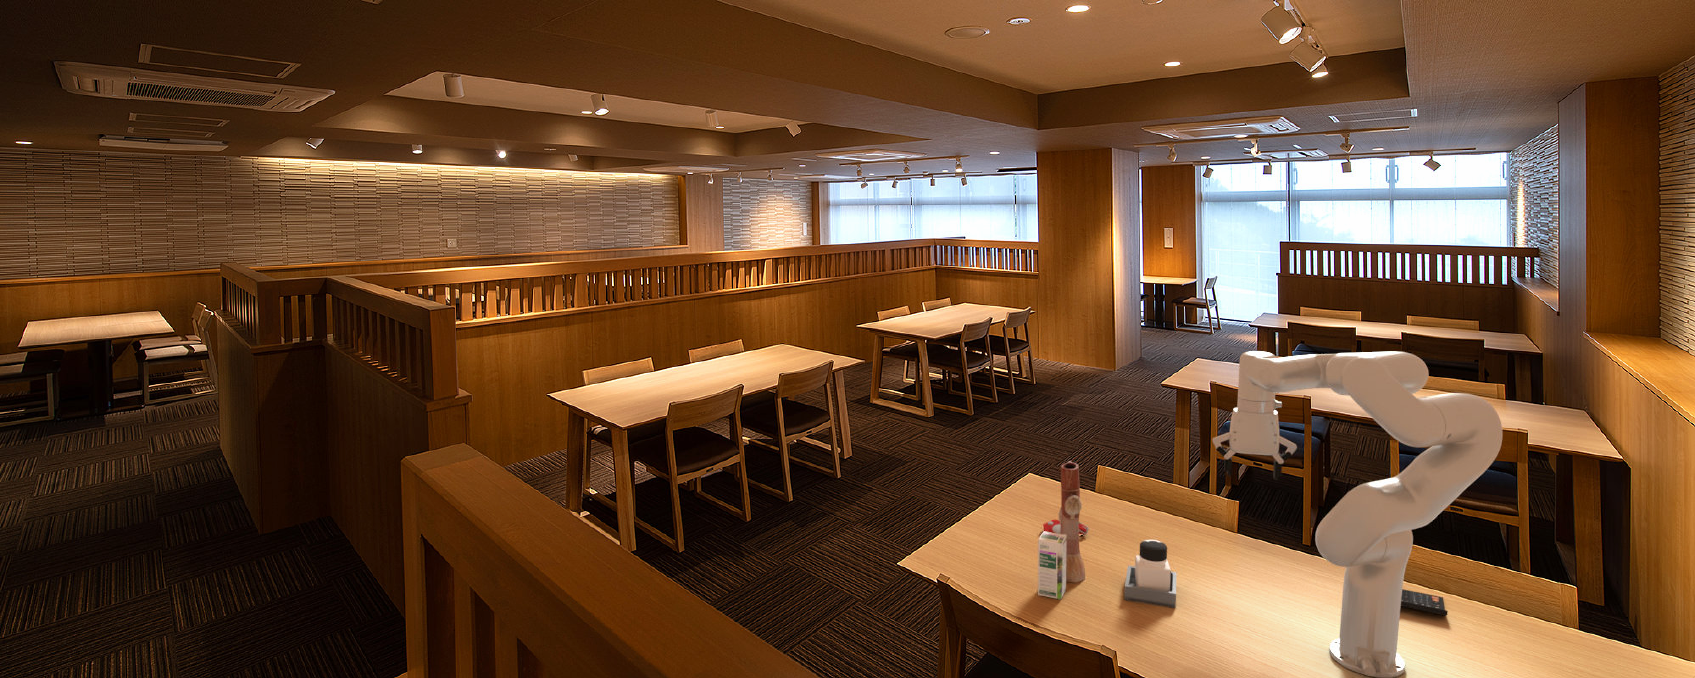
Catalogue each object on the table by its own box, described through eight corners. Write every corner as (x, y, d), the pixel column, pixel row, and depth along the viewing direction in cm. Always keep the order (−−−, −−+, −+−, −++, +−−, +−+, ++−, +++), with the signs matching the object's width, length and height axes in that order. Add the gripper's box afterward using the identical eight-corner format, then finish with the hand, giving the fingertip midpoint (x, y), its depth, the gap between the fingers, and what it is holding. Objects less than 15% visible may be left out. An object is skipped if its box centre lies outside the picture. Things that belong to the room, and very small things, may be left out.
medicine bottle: (1170, 598, 179) (1172, 550, 177) (1138, 596, 181) (1139, 548, 179) (1165, 584, 186) (1167, 537, 184) (1134, 581, 187) (1135, 535, 185)
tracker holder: (1057, 543, 210) (1034, 522, 218) (1057, 555, 212) (1035, 534, 220) (1092, 525, 214) (1069, 506, 222) (1092, 537, 216) (1069, 517, 224)
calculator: (1442, 600, 175) (1443, 588, 175) (1446, 624, 166) (1447, 611, 165) (1392, 590, 181) (1393, 578, 180) (1393, 613, 171) (1394, 600, 171)
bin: (1175, 608, 176) (1176, 593, 176) (1124, 599, 181) (1124, 586, 180) (1176, 585, 186) (1176, 572, 186) (1127, 578, 191) (1128, 565, 190)
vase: (1057, 566, 199) (1058, 455, 194) (1086, 570, 196) (1088, 458, 191) (1052, 585, 189) (1053, 469, 184) (1083, 589, 186) (1084, 472, 181)
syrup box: (1037, 595, 184) (1037, 539, 182) (1043, 584, 189) (1043, 529, 187) (1061, 600, 182) (1061, 543, 179) (1066, 589, 187) (1067, 533, 184)
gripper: (1296, 403, 176) (1292, 474, 179) (1213, 399, 183) (1210, 467, 186) (1301, 412, 169) (1296, 485, 172) (1214, 406, 176) (1211, 477, 179)
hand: (1252, 476), depth 179 cm, fingers open, 9 cm apart
